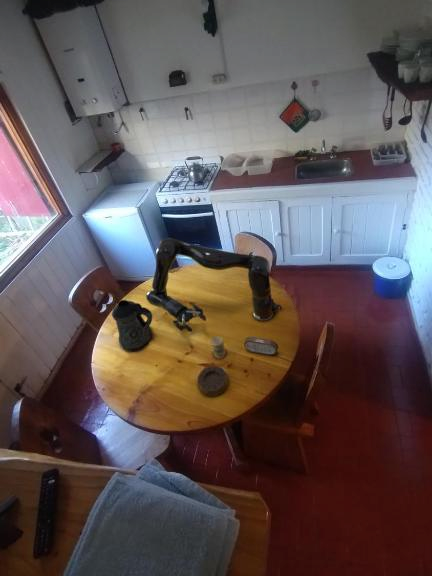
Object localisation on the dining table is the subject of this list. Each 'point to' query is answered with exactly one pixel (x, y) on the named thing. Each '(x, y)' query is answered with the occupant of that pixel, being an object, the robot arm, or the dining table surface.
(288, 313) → the dining table surface
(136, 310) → the beer stein
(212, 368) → the stand
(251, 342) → the tin
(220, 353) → the disc stack
